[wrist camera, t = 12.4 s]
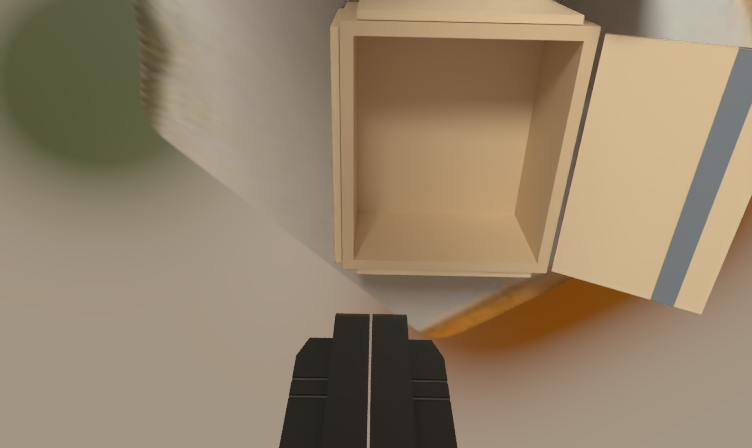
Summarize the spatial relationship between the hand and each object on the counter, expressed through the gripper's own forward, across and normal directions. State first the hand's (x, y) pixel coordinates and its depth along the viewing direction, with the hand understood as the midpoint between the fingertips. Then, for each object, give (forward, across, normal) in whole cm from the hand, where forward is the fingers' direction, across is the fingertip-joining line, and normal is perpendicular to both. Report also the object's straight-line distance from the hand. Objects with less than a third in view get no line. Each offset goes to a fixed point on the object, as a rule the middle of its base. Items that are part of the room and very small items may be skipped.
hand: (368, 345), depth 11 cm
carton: (+31, -5, +6) cm, 32 cm away
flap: (+23, -13, +6) cm, 27 cm away
